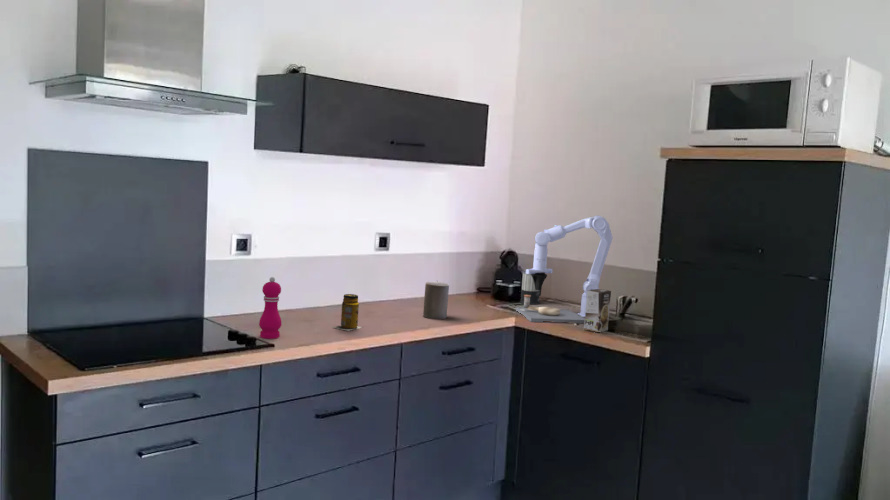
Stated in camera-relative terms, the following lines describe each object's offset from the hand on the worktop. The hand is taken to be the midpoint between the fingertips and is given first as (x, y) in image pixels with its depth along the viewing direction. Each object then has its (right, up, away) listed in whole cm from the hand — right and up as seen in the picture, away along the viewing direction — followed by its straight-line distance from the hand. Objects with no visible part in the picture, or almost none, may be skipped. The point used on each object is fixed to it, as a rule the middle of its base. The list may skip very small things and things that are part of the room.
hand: (537, 289), depth 319 cm
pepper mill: (-99, -11, -79) cm, 127 cm away
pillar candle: (-45, -10, -26) cm, 53 cm away
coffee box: (+19, -15, -32) cm, 40 cm away
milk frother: (-3, -7, +28) cm, 29 cm away
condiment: (-76, -11, -57) cm, 96 cm away
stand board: (+4, -11, -9) cm, 15 cm away
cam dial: (0, -9, -9) cm, 13 cm away
